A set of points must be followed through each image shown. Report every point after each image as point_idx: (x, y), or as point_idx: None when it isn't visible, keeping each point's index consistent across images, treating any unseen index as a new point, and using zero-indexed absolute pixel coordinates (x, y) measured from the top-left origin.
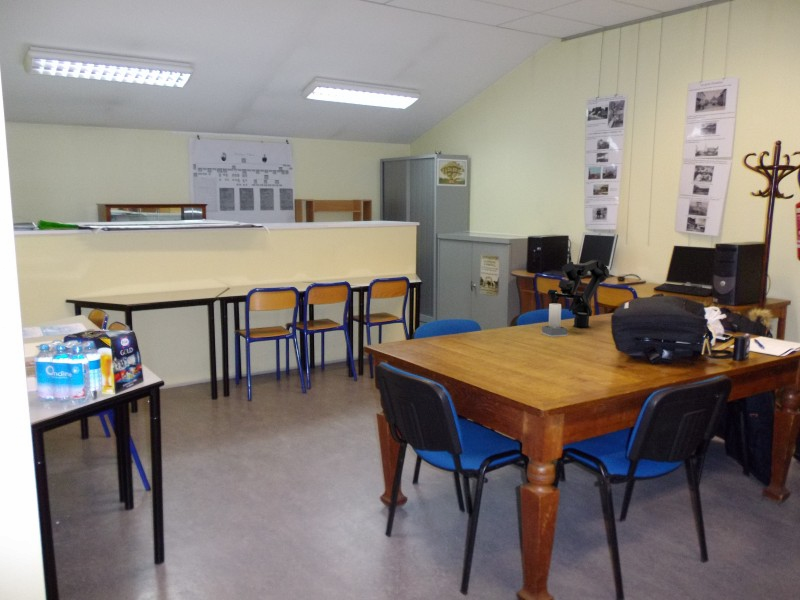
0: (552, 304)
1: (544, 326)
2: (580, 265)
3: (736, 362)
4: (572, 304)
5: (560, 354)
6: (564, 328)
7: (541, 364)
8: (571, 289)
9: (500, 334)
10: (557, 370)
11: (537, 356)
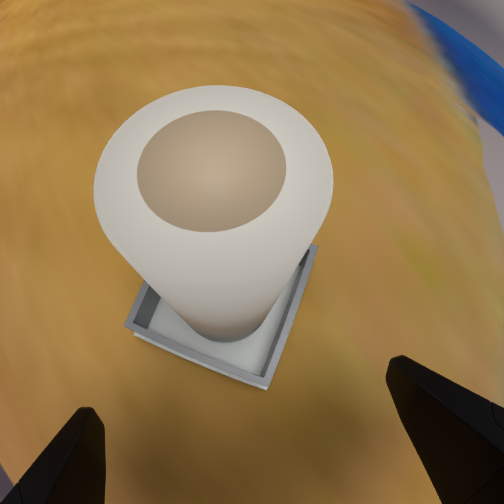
0: (229, 111)
1: (306, 260)
2: None
3: None
4: (29, 481)
5: (38, 57)
6: (134, 304)
7: (58, 5)
8: None
9: (391, 105)
10: (27, 13)
11: (83, 16)
